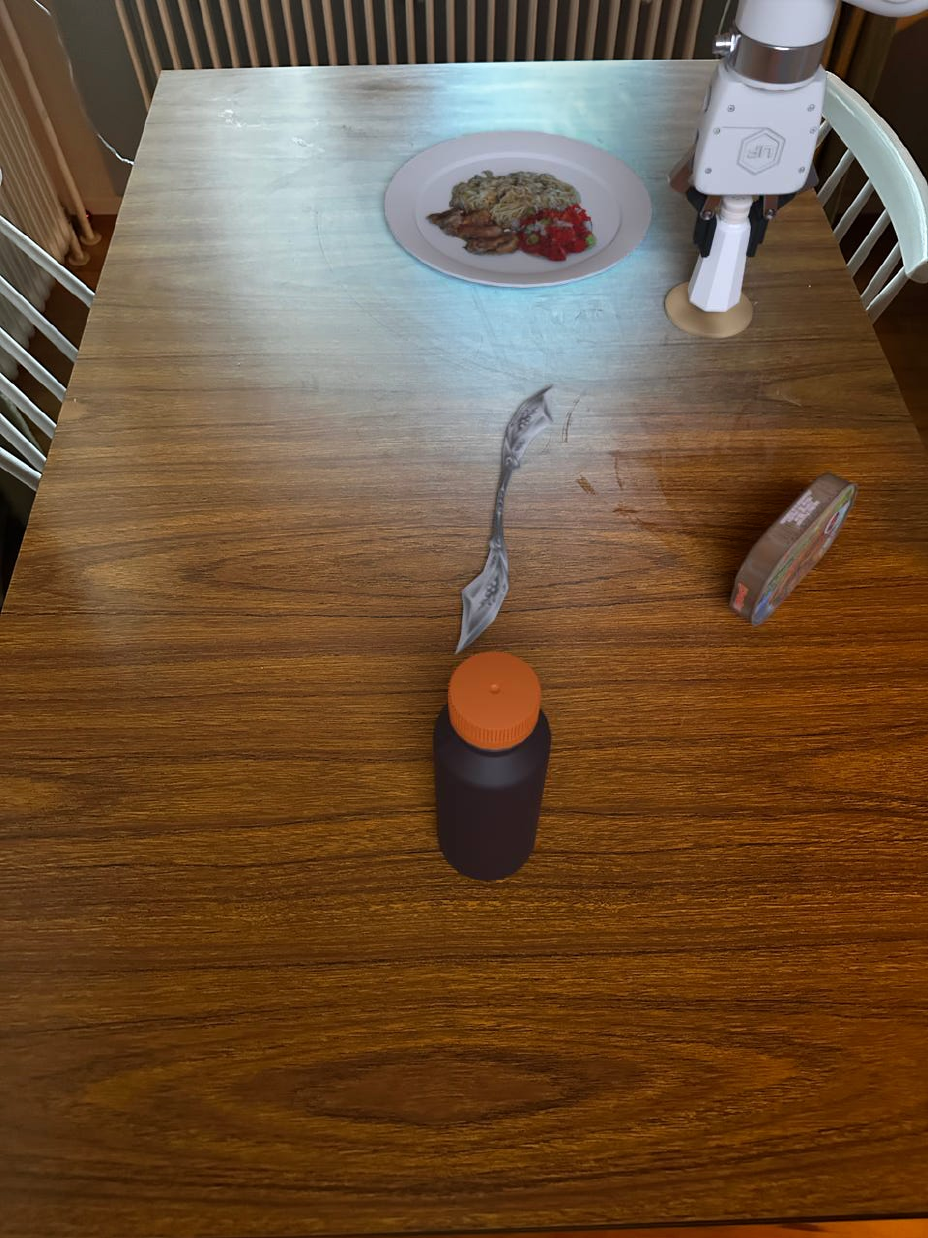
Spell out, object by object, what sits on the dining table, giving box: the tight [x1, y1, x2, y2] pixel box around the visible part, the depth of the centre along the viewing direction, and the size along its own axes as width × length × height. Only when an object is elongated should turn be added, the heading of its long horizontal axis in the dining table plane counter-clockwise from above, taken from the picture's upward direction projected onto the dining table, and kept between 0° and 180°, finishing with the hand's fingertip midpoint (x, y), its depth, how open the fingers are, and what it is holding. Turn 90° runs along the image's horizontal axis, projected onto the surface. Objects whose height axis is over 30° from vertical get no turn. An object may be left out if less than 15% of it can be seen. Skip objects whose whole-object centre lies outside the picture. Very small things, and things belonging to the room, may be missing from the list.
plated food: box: [383, 130, 653, 289], centre depth 107 cm, size 30×30×3 cm
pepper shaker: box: [688, 195, 754, 312], centre depth 93 cm, size 5×5×11 cm
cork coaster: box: [664, 280, 754, 339], centre depth 99 cm, size 9×9×1 cm
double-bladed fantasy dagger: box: [454, 384, 556, 655], centre depth 83 cm, size 32×1×5 cm
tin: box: [727, 472, 859, 627], centre depth 76 cm, size 15×3×8 cm, turn 137°
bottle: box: [431, 650, 553, 882], centre depth 58 cm, size 7×7×20 cm
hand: (725, 247), depth 93 cm, fingers closed on pepper shaker, 3 cm apart
